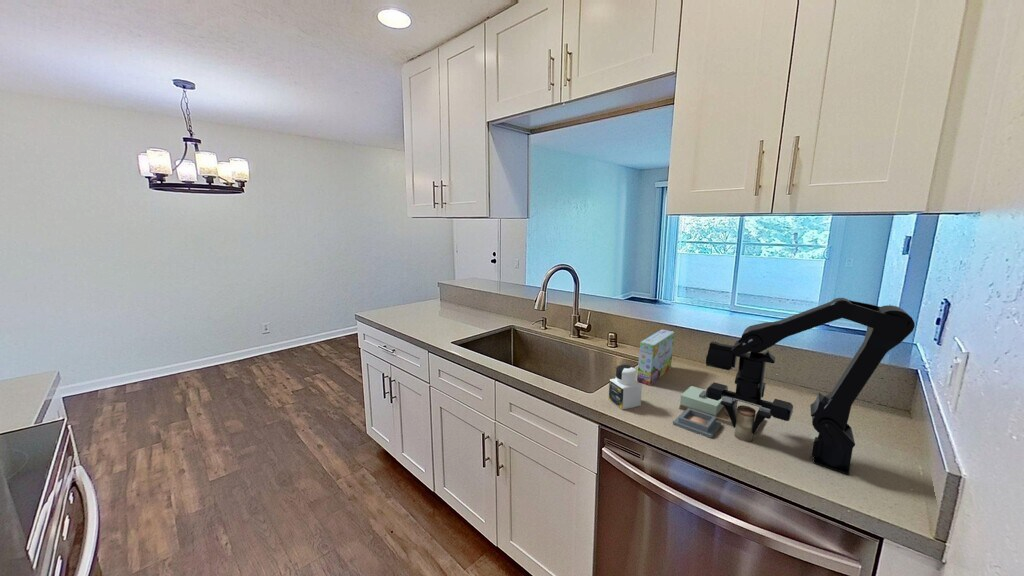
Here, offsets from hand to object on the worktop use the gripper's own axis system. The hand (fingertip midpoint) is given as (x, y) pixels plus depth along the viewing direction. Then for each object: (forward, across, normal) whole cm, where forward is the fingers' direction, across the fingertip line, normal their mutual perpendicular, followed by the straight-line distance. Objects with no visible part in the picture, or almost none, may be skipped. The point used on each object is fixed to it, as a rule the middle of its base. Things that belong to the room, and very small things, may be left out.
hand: (744, 430), depth 100 cm
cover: (+1, +13, -9) cm, 16 cm away
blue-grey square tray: (+2, +11, +2) cm, 11 cm away
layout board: (+2, +8, -9) cm, 12 cm away
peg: (+2, 0, 0) cm, 2 cm away
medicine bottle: (+2, +32, +4) cm, 32 cm away
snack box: (+2, +34, -24) cm, 42 cm away
